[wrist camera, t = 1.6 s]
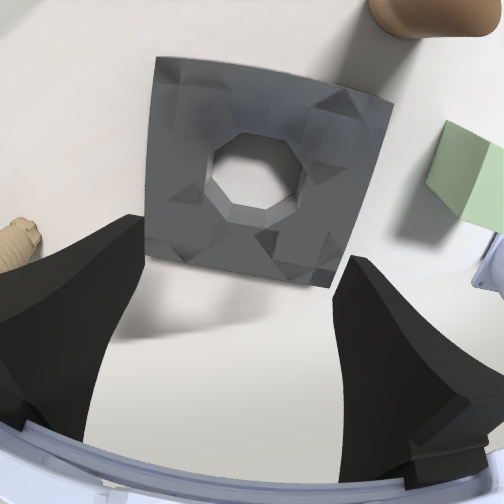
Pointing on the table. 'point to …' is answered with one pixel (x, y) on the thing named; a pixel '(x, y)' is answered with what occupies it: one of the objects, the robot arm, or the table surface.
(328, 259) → the socket block
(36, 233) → the handle
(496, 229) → the square bit
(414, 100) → the table surface
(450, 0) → the walnut peg
